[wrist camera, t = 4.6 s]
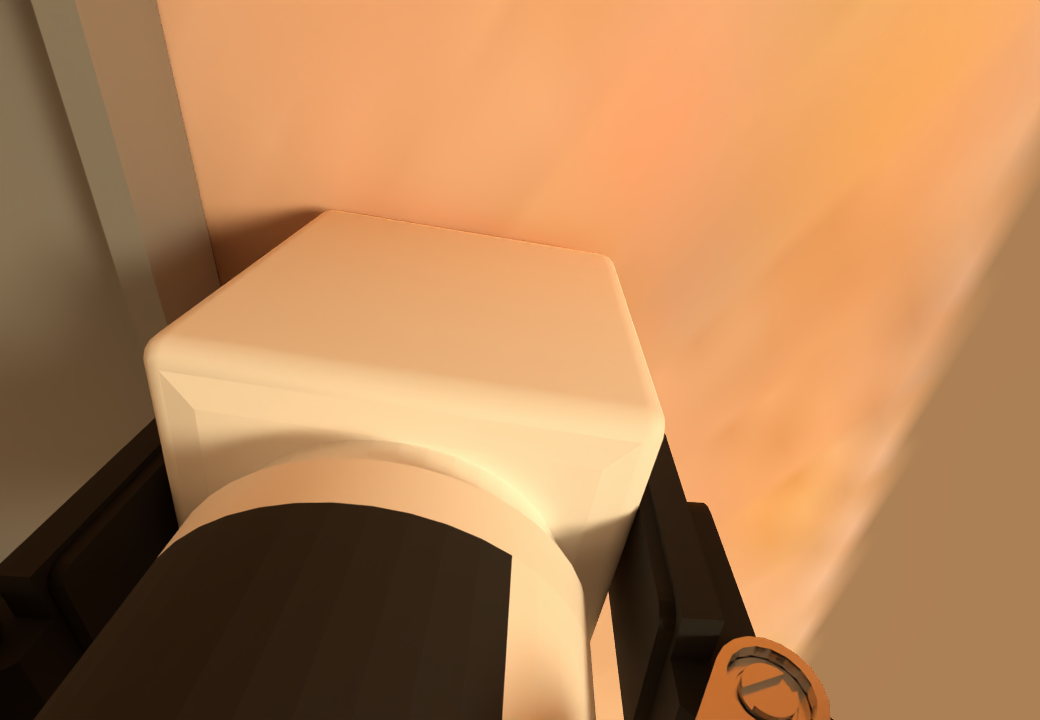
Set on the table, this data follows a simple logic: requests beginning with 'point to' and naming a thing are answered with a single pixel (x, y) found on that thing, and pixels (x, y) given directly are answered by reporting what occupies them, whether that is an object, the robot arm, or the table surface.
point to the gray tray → (86, 241)
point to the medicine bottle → (384, 485)
